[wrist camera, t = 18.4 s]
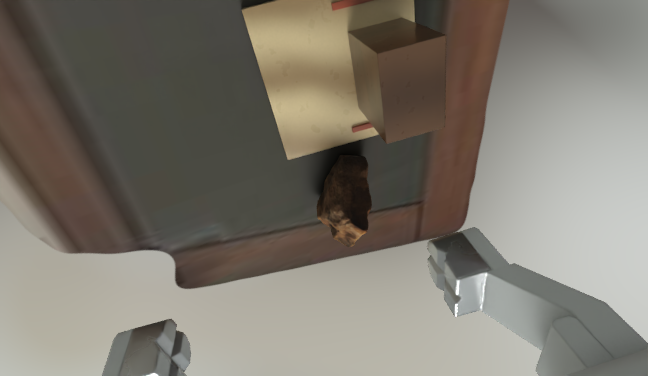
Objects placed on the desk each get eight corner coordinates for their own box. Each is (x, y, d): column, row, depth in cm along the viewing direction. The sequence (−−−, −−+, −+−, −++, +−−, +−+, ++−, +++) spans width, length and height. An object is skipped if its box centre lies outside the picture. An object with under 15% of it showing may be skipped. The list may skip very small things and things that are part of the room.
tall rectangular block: (347, 31, 41) (377, 53, 32) (404, 16, 42) (449, 34, 33) (358, 107, 47) (386, 144, 38) (408, 94, 48) (447, 126, 39)
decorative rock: (340, 213, 58) (358, 259, 50) (307, 207, 56) (320, 254, 48) (370, 154, 53) (396, 193, 44) (334, 144, 51) (354, 184, 42)
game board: (241, 8, 38) (241, 9, 37) (410, -35, 39) (414, -35, 38) (287, 157, 50) (288, 161, 49) (416, 121, 51) (419, 124, 50)
